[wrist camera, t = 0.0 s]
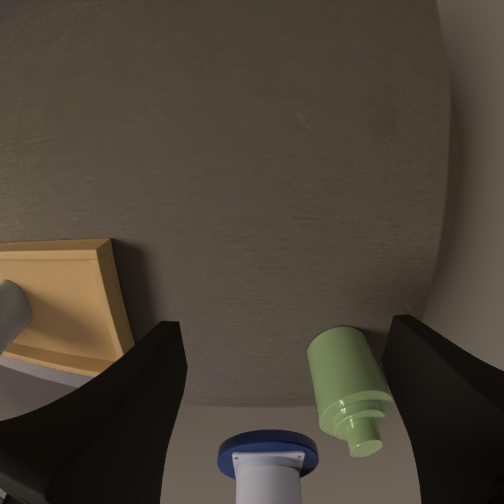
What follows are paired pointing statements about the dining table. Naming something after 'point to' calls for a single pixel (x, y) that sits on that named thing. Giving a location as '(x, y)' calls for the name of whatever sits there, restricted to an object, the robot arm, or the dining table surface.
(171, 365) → the robot arm
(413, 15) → the dining table surface
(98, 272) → the tray
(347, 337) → the sage bottle
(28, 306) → the blue bottle
